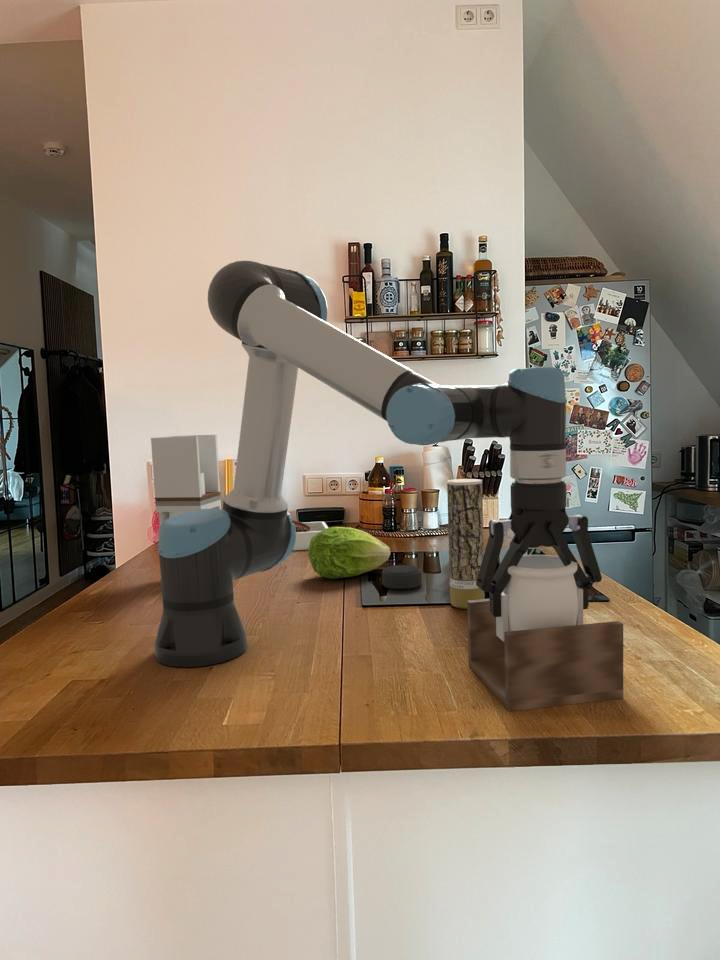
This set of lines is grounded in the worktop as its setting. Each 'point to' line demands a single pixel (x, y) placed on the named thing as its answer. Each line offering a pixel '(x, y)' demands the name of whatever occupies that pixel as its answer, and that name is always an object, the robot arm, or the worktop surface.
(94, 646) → the worktop surface
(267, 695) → the worktop surface
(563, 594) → the jar
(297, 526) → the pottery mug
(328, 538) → the lettuce
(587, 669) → the holder
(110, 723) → the worktop surface
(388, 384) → the robot arm
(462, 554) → the paper tube
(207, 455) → the display case
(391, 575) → the smart speaker
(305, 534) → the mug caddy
